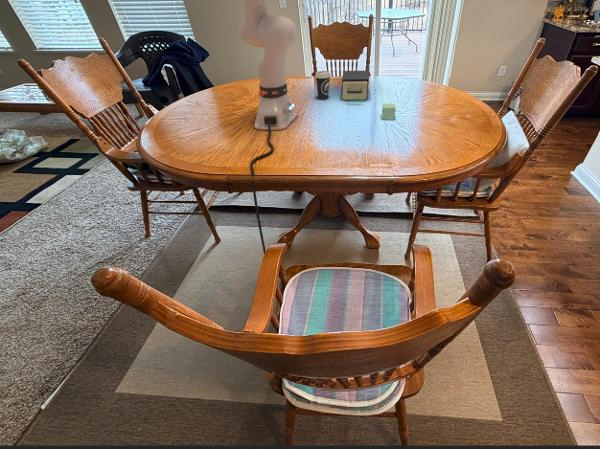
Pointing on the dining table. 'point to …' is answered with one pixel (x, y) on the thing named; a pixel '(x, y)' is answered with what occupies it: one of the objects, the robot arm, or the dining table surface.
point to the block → (388, 111)
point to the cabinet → (355, 79)
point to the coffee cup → (322, 84)
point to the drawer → (354, 90)
